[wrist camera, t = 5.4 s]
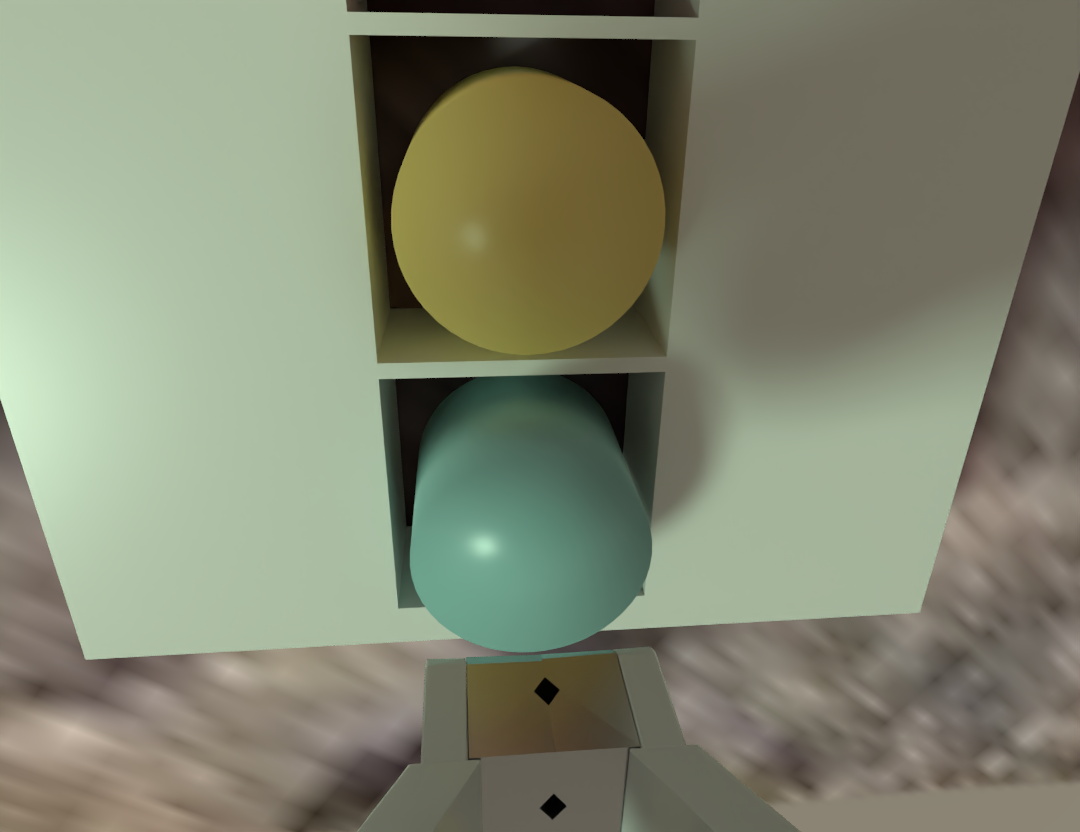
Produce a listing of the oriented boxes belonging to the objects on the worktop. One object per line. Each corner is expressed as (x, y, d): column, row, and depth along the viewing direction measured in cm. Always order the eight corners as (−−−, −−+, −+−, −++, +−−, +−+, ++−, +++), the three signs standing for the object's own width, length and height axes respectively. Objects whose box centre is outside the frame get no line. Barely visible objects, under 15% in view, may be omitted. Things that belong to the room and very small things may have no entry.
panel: (1083, -410, 12) (1257, -530, 10) (858, 535, 20) (919, 612, 18) (-147, -497, 11) (-350, -673, 8) (138, 568, 19) (85, 659, 16)
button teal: (621, 365, 16) (661, 449, 13) (610, 536, 18) (643, 645, 15) (412, 371, 15) (401, 458, 12) (424, 544, 17) (416, 658, 14)
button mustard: (629, 67, 14) (677, 79, 11) (616, 289, 16) (654, 352, 13) (397, 65, 14) (380, 76, 11) (411, 292, 16) (400, 358, 13)
